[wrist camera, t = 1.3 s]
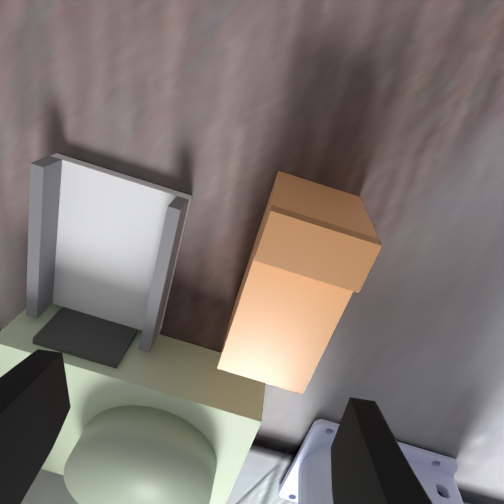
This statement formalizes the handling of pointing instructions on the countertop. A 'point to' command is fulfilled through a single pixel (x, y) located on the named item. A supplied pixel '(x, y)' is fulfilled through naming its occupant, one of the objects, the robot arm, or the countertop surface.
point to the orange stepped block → (298, 282)
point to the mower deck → (125, 344)
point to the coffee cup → (48, 490)
